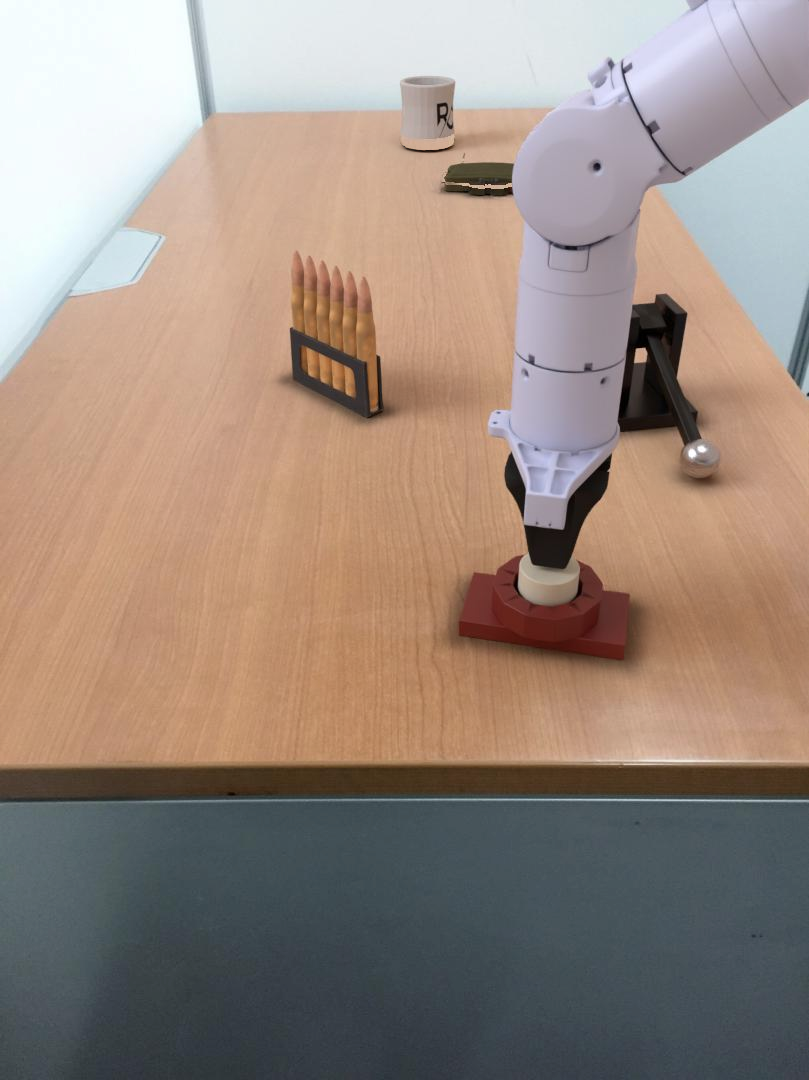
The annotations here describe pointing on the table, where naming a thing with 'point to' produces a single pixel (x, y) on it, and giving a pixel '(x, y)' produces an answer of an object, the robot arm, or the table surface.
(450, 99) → the mug
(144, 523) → the table surface
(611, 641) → the block
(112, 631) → the table surface
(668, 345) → the black pivot stand
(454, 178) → the landmine
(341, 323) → the ammunition clip
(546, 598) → the button
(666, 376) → the lever
